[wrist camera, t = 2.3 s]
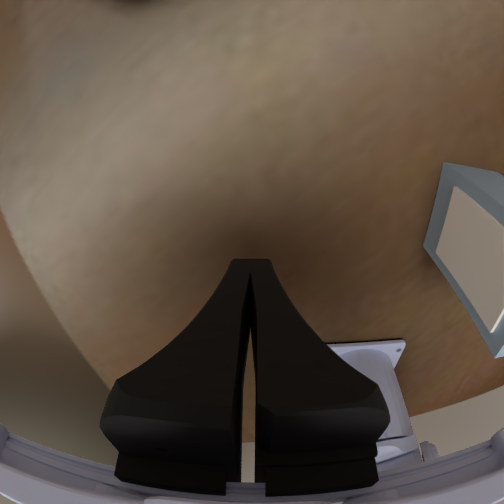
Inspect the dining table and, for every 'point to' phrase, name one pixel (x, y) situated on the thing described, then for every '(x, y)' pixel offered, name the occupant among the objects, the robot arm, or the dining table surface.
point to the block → (472, 245)
